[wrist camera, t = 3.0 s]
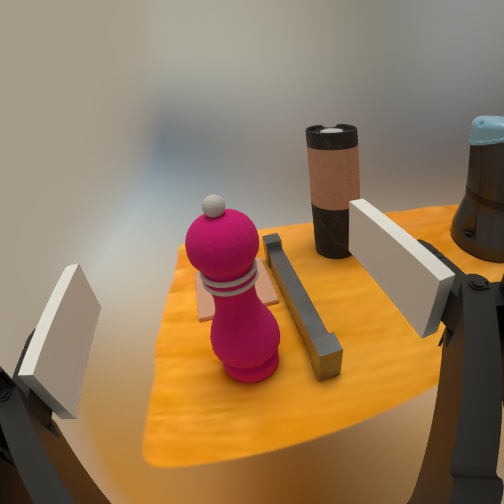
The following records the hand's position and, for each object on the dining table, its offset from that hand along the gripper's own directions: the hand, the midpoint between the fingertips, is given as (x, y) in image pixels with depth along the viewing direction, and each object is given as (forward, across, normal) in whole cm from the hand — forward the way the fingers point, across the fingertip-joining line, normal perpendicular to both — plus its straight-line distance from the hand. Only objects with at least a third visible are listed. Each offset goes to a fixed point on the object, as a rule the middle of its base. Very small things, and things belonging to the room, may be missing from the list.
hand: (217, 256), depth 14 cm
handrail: (+17, +8, -21) cm, 28 cm away
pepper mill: (+10, 0, -21) cm, 23 cm away
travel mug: (+28, +19, -21) cm, 40 cm away
